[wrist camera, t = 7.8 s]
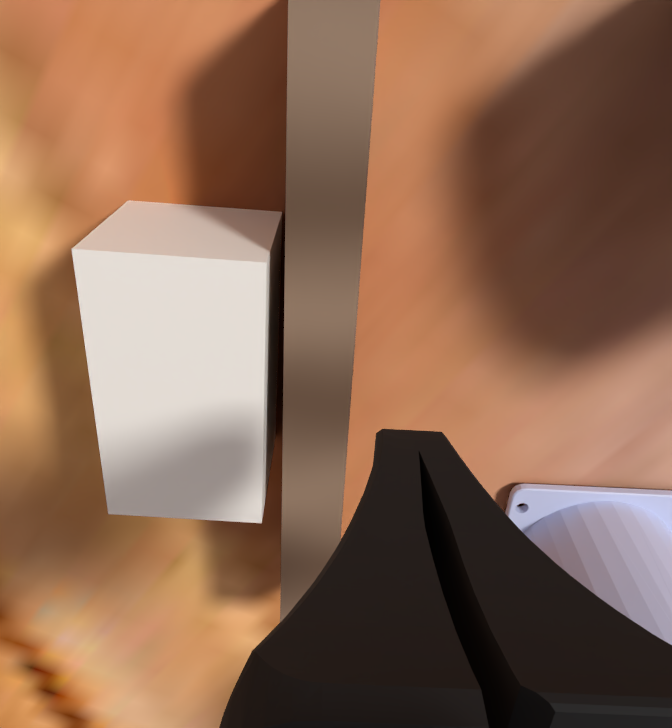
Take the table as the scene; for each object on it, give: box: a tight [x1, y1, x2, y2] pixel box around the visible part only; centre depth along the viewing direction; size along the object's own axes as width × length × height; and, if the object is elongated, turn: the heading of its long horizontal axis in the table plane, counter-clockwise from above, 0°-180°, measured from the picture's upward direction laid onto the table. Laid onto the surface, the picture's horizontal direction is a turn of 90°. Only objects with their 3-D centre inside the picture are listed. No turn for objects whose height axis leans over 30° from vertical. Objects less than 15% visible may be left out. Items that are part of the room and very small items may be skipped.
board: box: [280, 0, 380, 622], centre depth 21 cm, size 22×2×4 cm, turn 177°
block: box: [72, 200, 282, 523], centre depth 20 cm, size 9×5×5 cm, turn 176°
